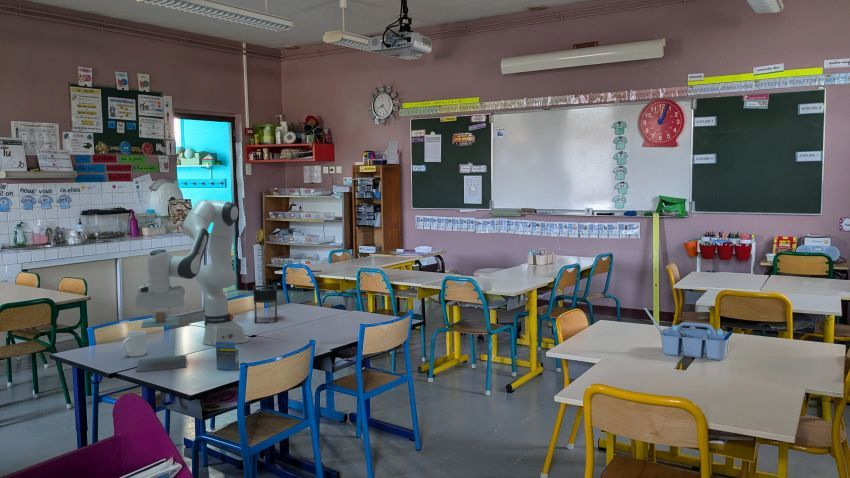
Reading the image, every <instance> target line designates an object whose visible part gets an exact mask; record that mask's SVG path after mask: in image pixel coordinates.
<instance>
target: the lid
mask: <svg viewBox="0 0 850 478" xmlns="http://www.w3.org/2000/svg"><path fill="white" fill-rule="evenodd" d="M165 313H166V311H156V312H155V313H154V314H155V317H156V318H154V319H152V318H145V319H143V320H142V323H141V329H146V328H148V329H149V328H151V329H152V328H162V327H174V326H175V327H177V326H179V324H180V317H179V316H175V317H172V316H171V317H169V318H165Z"/></svg>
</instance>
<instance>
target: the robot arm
mask: <svg viewBox="0 0 850 478" xmlns="http://www.w3.org/2000/svg"><path fill="white" fill-rule="evenodd" d="M239 213H240V211H239V207H238V206H237V204H236V203H234V202H231V201H224V200H214V199H213V200H212V199H202V200H199V201H197V202H196V203H195V204H194V206H192V208H191V209H190V210H189V212H188V214H187V216H186V217H185V219H184V221H183V223H182V229H183V231H184V234H186V236H188V237H189V238H190V239H192V240H193V244H192V247H191V249H190V252H189V253H188V254H186V255H184V256H183V255H174V254H172V253H170V252H168V251H167V250H166V249H155V250H152V251H150V252H149V254H148V257H147V273H148V281H147V283H145V284H143V285H142V284H141V285H140V286H138V287H137V293H136V295H135V300H134V308H135V309H136V310H148V311H149V313H150V315H151V319H156V317H155V313H154V312H153V311H154V310H153V309H165V308H166V309H167V310H168V311H167V312H165V318H170V313H171V311H172V308H180V307H182V308H183V307H184V305H185V299H184V295H185V294H186V292H185V291H186V290H185V288H184V286H181V285H176V286H175V285H173V286H172V285H171V279H170V277H171V278H182V279H186V280H187V279H188V280H193V279H194V278H195V280H196V281H197V282H198V283H199V285H200V288H201V291H202V295H203V299H204V317H203V321H204V322H203V323H204V333H203V340H202V344H203V345H207V346H215V347H216V342H234V344H235V345H236V344H245V343H248V342H249V341H250V337H249V336H248V335H246V334H245V330H244V328H243V327H242V326H241V325H240V324H238V323H237V322H235V321H234V318H235V317H234V315H233V314H231V313H229V301H228V300H229V299H228V297H227V295H226V294H225V292H224V289H228V288H230V287H232V286H233V285H235V283H236V281H237V275H236V272H235V270H234V268H233V265H232V264H233V263H232V251H233V250H232V249H233V243H234V236H235V232H234V231H235V227H234V226H235V222H236V221H237V219H238V217H239ZM211 223H213V225H212V229H211V231H210V233H209V231H208V230H209V228H210V226H211ZM207 247H208V248H207ZM206 248H207V252H208V255H209V256H210V260H211V264H210V263H209V264H204V265H201V263H202V260H203V256H204V254H205V251H206ZM223 346H227V345H226V344H224V345H223Z"/></svg>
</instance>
